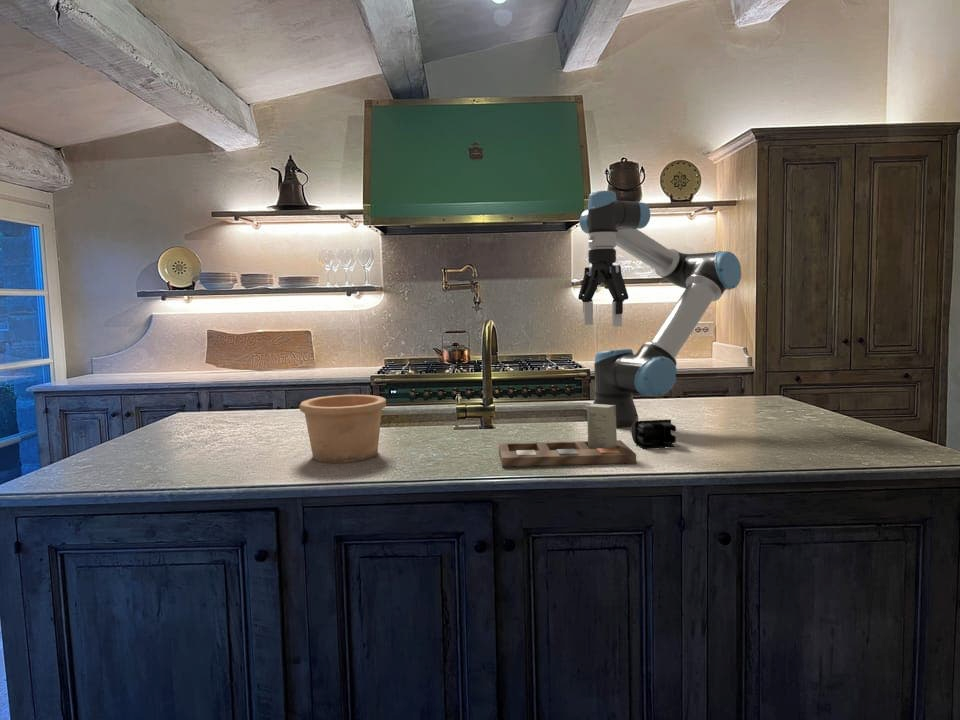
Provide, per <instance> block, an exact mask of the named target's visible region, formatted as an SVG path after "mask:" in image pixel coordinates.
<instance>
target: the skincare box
mask: <svg viewBox="0 0 960 720" xmlns="http://www.w3.org/2000/svg"><path fill="white" fill-rule="evenodd" d="M586 413H587V414H586V416H587V417H586V418H587V419H586V420H587V423H586V424H587V441H588V447H589V448H590V449H597V448H617V439H618V437H617V435H618V434H617V427H616V405H604V404H593V403H592V404H589V405H587V406H586Z"/></svg>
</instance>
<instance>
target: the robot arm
mask: <svg viewBox="0 0 960 720" xmlns="http://www.w3.org/2000/svg"><path fill="white" fill-rule="evenodd" d="M650 220H651V209H650V207H649V205H648V204H646V203H645V202H641V201H638V200H635V201H633V200H632V201H631V200H630V201H629V200H618V199H617V193H616V192H615V191H612V190H597V191H593V192H591V193H590V194H589V195H588V203H587V209H585V210H584V211H582V213H581V214H580V216H579V226H580V229H581V230H582V231H583V232H584V233H585V234H587V235H588V248H589V250H588V252H587V253H588V259H587V260H588V264H591V267H584V273H583V279H582V283H581V286H580V290H579V293H578V297H577V298H578V300H580V301H581V302H582V311H583V325H584V326H589V325H591V326H592V325H594V302H593V297H594V295H595V294H596V291H597V289H598V287H599V285H600V284H601V283H603V284H605V285H606V287H607V289H608V291H609V294H610V295H611V297H612V302H611V327H613V328H615V327H623V312H624V311H623V309H624V307H623V304H624V301H626V300H628V299H629V295H628V294H629V293H628V290H627V287H626V285H625V281H624V278H623V275H622V266H621V265H618V264H615V263H616V261H617V250H616V249H615V247H618V248H620V249H621V250H622V251H624V252H626V253H628V254H630V255H631V256H632V257H634V258H636V259H637V260H638V261H641V262H642V263H644V264H646V266H649V267H650V268H652V269H654V272H655V273H656V275H658V276H659V277H660V278H662V279H663V280H665V281H667V282H669V283H671V284H673V285H675V286H677V287H680V288H683V289H685V290H684V291H683V293H682V294H681V295H680V297H679V299H678V300H677V302H676V303H675V305H674V306H673V308H672V309H671V311H670V312H669V314H668V315H667V316H666V318H665V320H664V321H663V323H662V324H661V325H660V327H659V328H658V329H657V332H656V333H655V334H654V336H653V337H652V339H651V341H649V342H644V343H642V345H641V346H640V348H639V349H638V350H637V352H636V354H634V352H633V351H634V350H632V348H625V349H623V348H622V349H613V350H611V349H610V350H603V351H602V350H601V351H597V352H596V353H595V357H594V363H593V365H594V400H593V403H592V404H604V405H616V428H625V427H626V428H627V427H632V424H633V422H634V421H639V415H638V412H637V409H636V405H635V402H634V397H633V395H635V394H636V395H641V396H644V397H661V396H664V395H666V394H667V393H668V392H670V391H671V390H672V389H673V387H674V386H675V383H676V381H677V376H676V375H678V369H677V364H678V363H677V358H676V357H677V355H678V354H679V352H680V351H681V349H682V348H683V346H684V345H685V343H686V342H687V340H688V339H689V338H690V335H691V334H692V333H693V331H694V329H695V328H696V326H697V325H698V323H699V322H700V320H701V319H702V317H703V316H704V314H705V312H706V311H707V310H708V308H709V306H710V305H711V303H712V302H716V301H719V300H720V299H721V297H722V296H723V294H724V292H725V291H726V290H729V291H731V290H733V289H735V288H737V287H738V286H739V284H740V282H741V279H742V267H741V262H740V260H739V258H738V257H737V256H736V255H735V254H734V253H733V252H731V251H727V250H726V251H722V250H718V251H713V252H700V253H683V252H680V251H678V250H676V249H674V248H667V247H665V246H664V245H662V244H661V243H659V241H656V240H655V239H653V238H651V237H650V236H649V235H648V234H645V233H644V232H642V231H641V230H639V229H644V228H646V227H647V225H648V224H649V223H650Z"/></svg>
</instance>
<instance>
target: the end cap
mask: <svg viewBox="0 0 960 720" xmlns="http://www.w3.org/2000/svg"><path fill="white" fill-rule="evenodd" d="M676 431H677V427H676V425H675V424H672V419H653V420H652V419H651V420H638V421H634V422H633V424H632V426H631V438H632V441H633V442H634V443H635V444H636V447H638V446H639V447H638V448H640V449H641V448H642V450H648V449H647V448H659V449H666V448H665V447H676V445H675V443H676V440H677V437H676V435H674V434H672V432H674V433H675V432H676Z"/></svg>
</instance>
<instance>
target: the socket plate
mask: <svg viewBox="0 0 960 720" xmlns="http://www.w3.org/2000/svg"><path fill="white" fill-rule="evenodd" d="M498 455H499V459H500V464H501V468H502V469H504V468H505V469H506V468H509V469H510V468H538V467H539V468H544V467H575V466H577V467H579V466H580V467H581V466H584V467H585V466H613V465H614V466H617V465H618V466H619V465H637V454H636V452H634V451H633V449H631V448H630V447H629V446H628V445H627V444H625V443H624V442H623V441H622V440H621V439H619V440H617V448H597V449H590V448H589V447H588V440H582V441H580V440H579V441H577V440H576V441H575V440H574V441H541V442H537V441H536V442H531V441H530V442H502V443H501V442H500V443H498Z"/></svg>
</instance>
